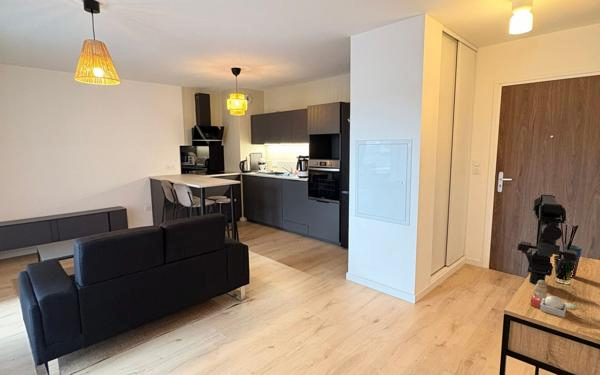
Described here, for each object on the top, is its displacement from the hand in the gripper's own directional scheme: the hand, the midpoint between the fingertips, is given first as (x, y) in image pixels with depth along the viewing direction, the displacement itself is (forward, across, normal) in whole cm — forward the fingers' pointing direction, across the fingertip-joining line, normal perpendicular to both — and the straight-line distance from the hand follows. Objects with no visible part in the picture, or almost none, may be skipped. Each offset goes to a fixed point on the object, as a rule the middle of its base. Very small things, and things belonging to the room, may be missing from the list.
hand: (543, 270), depth 131 cm
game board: (+13, +5, -4) cm, 14 cm away
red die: (+13, -1, -9) cm, 16 cm away
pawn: (+12, 0, 0) cm, 12 cm away
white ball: (+12, +5, -9) cm, 16 cm away
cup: (+13, +8, +41) cm, 44 cm away
